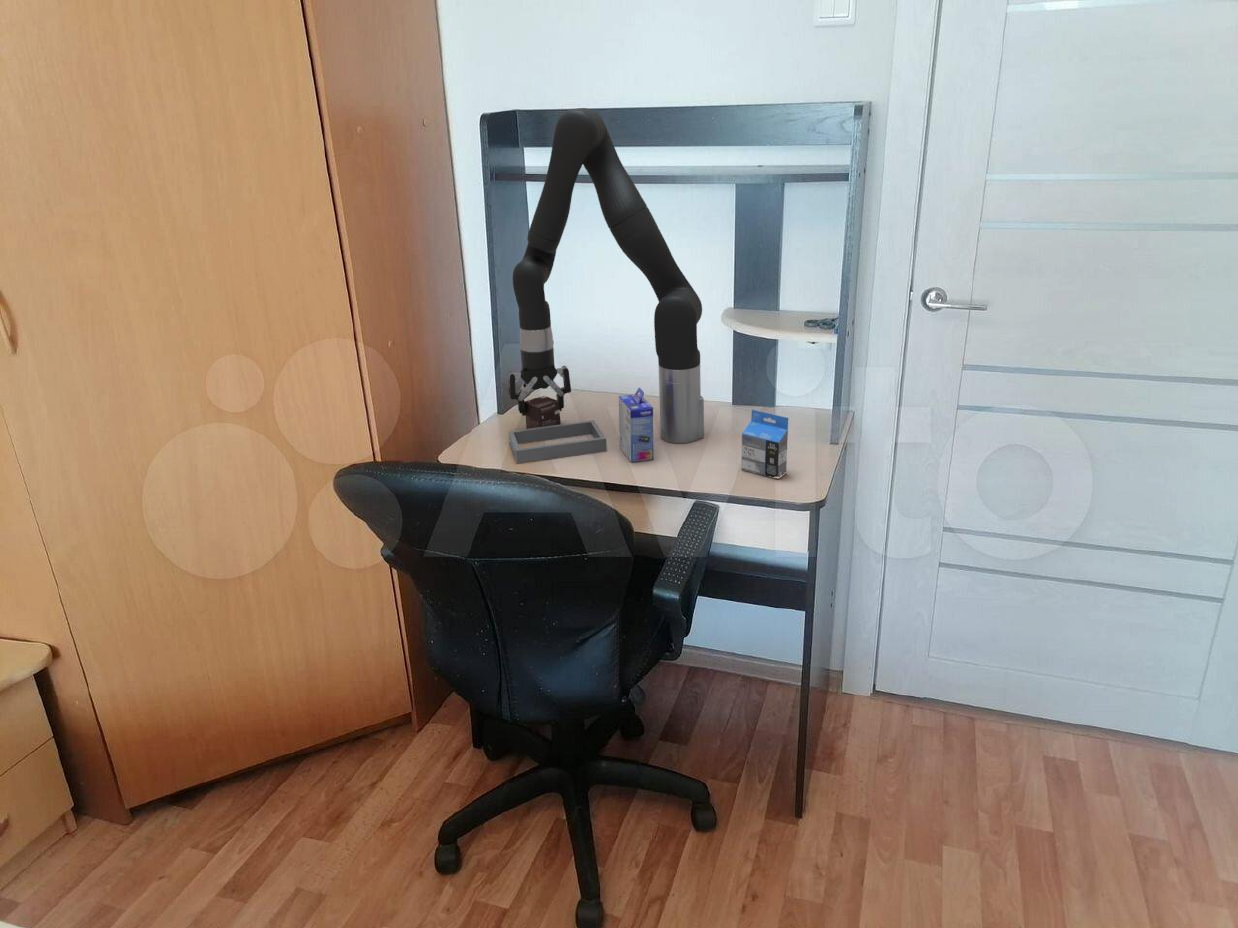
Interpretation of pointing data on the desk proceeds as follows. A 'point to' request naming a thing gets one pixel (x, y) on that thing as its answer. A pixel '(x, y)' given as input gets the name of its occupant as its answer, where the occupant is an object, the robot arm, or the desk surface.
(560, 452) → the box
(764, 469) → the ink cartridge pack
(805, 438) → the desk surface
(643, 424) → the ink cartridge box
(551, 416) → the box
